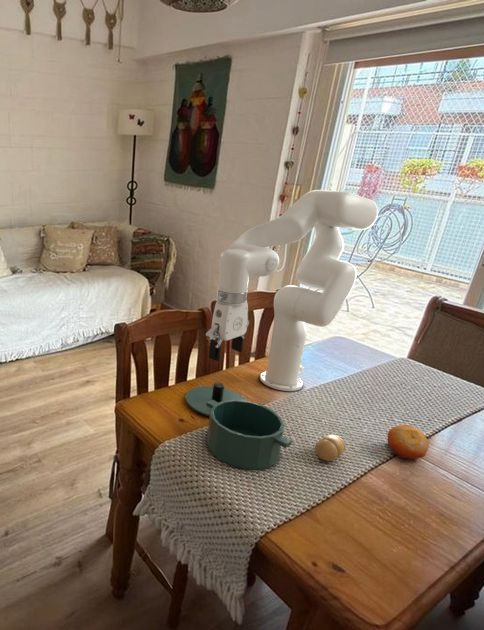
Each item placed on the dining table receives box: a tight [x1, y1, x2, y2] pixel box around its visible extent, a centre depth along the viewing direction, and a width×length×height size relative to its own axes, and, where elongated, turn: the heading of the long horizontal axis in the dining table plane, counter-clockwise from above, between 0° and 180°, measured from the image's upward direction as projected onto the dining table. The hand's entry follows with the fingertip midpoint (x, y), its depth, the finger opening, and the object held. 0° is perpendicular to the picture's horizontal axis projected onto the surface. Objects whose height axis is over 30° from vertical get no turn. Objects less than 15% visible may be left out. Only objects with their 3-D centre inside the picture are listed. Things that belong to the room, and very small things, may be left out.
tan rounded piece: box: [314, 434, 346, 462], centre depth 104 cm, size 8×5×5 cm, turn 126°
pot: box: [206, 400, 293, 471], centre depth 106 cm, size 17×22×8 cm
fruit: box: [386, 424, 430, 460], centre depth 105 cm, size 8×8×8 cm
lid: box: [185, 382, 248, 417], centre depth 126 cm, size 18×18×6 cm
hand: (225, 354), depth 122 cm, fingers open, 9 cm apart
